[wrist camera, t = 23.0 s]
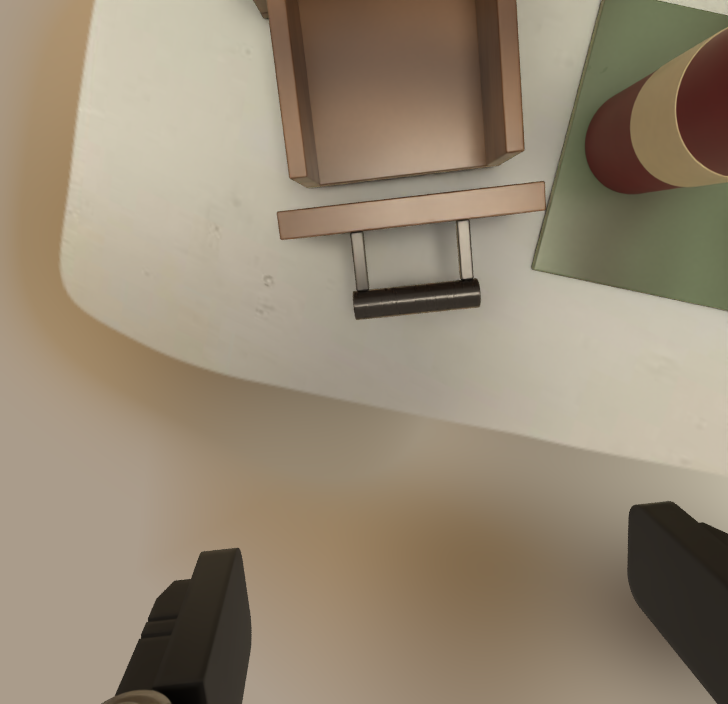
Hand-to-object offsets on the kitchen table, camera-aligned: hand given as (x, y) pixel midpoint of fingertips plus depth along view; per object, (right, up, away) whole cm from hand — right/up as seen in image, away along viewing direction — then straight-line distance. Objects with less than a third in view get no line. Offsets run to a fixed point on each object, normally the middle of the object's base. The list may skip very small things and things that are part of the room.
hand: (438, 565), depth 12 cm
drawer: (0, +15, +19) cm, 24 cm away
